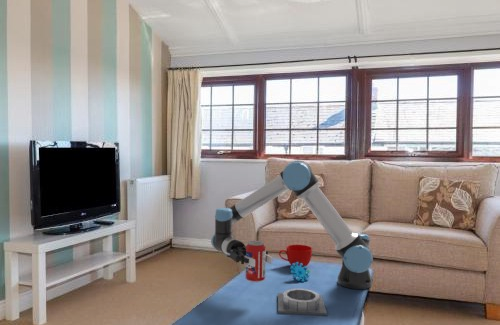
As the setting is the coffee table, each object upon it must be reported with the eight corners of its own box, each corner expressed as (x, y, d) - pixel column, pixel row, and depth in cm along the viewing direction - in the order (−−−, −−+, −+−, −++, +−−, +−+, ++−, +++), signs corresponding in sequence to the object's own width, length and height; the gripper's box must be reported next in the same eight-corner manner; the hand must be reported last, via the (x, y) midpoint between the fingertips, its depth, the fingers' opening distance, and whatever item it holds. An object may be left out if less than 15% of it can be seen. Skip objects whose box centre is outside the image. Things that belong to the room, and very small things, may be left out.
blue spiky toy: (295, 280, 189) (288, 260, 195) (288, 286, 192) (282, 267, 199) (314, 280, 194) (308, 261, 200) (308, 286, 197) (302, 267, 204)
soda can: (266, 283, 162) (267, 244, 161) (246, 283, 161) (247, 245, 160) (263, 276, 170) (264, 239, 169) (244, 277, 169) (244, 240, 168)
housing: (321, 297, 173) (321, 288, 173) (326, 315, 155) (327, 305, 155) (277, 295, 174) (278, 286, 174) (278, 313, 156) (278, 302, 156)
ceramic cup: (276, 263, 220) (277, 244, 220) (308, 263, 222) (308, 244, 221) (281, 271, 207) (281, 251, 207) (314, 270, 209) (315, 250, 209)
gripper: (253, 253, 186) (284, 267, 166) (212, 259, 175) (240, 275, 156) (253, 237, 185) (284, 249, 166) (212, 242, 175) (240, 255, 155)
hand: (263, 261), depth 161 cm, fingers closed on soda can, 7 cm apart
